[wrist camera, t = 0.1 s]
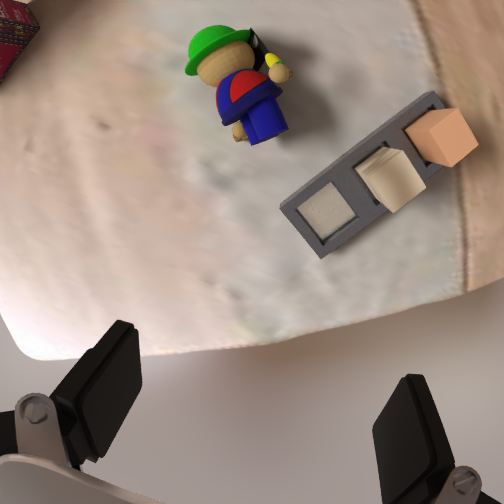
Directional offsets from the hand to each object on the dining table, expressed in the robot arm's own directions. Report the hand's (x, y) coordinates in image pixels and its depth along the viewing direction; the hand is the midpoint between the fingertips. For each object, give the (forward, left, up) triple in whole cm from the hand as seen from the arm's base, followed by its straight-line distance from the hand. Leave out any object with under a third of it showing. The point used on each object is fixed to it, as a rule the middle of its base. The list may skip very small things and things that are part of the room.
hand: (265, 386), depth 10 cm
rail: (-11, +4, -31) cm, 33 cm away
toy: (-5, -14, -31) cm, 35 cm away
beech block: (-11, +4, -30) cm, 32 cm away
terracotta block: (-19, +4, -30) cm, 36 cm away
